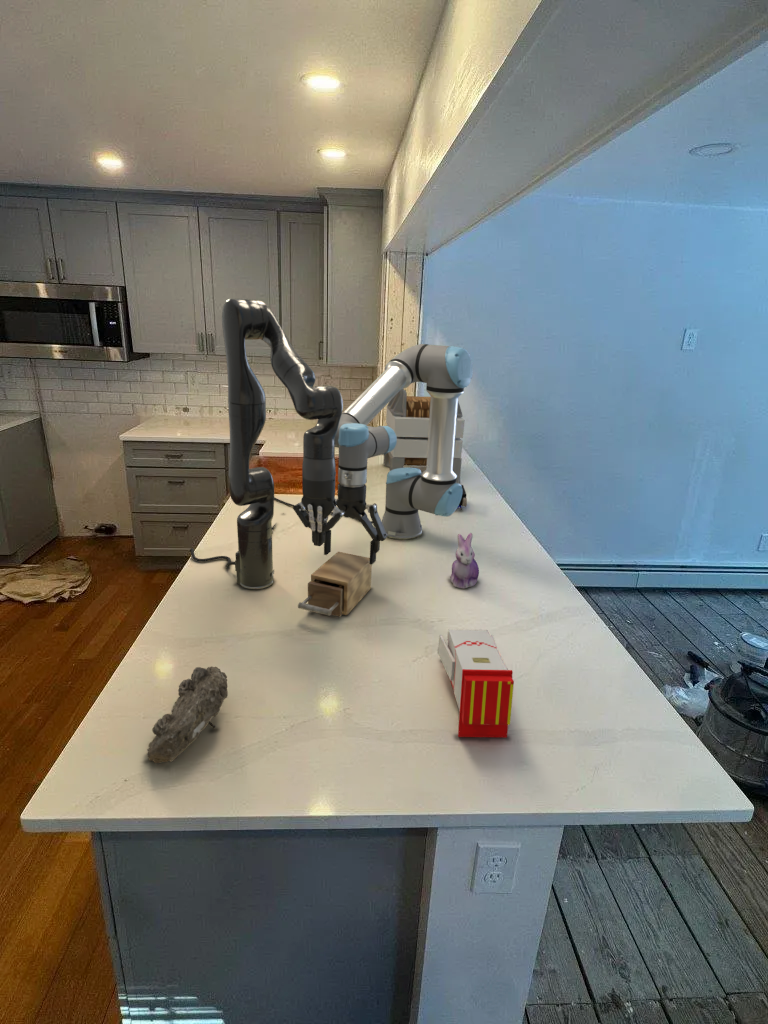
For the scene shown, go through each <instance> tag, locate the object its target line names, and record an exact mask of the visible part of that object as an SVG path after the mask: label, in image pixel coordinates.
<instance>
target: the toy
mask: <svg viewBox="0 0 768 1024" xmlns="http://www.w3.org/2000/svg"><path fill="white" fill-rule="evenodd" d="M446 640H447V643H446V641H445V639H444V636H443V635H442V634H439V637H438V646H437V656H438V657H439V659H440V661H441V663H442V666H443V668H444V670H445V672H446V674H447V677H448V679H449V681H450V684H451V687H452V690H453V693H454V697H455V701H456V705H457V708H458V711H459V714H458V715H459V716H458V730H457V731H458V732H457V737H458V738H508V731H509V726H510V725H511V717H512V707H513V697H514V696H513V695H514V684H515V680H514V679H513V673H514V671H513V670H512V669H508V667H507V665H506V662H505V661H504V659H503V658H502V655H501V653H500V651H499V649H498V647H497V643H496V639H495V637H494V635H493V634H491V632H490V631H489V629H467V628H466V629H465V628H463V629H461V628H460V629H459V628H448V630H447V639H446Z"/></svg>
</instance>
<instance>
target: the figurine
mask: <svg viewBox="0 0 768 1024" xmlns="http://www.w3.org/2000/svg"><path fill="white" fill-rule="evenodd" d="M473 538H474V537H473V533H472V532H470V533H468V534H467V537H466V538H465V539H464V537H463V536H462V534H461V533H458V534H457V549H456V551H455V558H456V560H454V561H453V562H452V565H451V574H450V582H451V583H452V585H453V586H454V587H455V588H460V589H467V588H471V587H474V586H475V585H476V584H477V583H478V579H479V577H480V569H479V564H478V562H477V560H476V558H475V557H476V553H475V551H474V548H473V546H472V542H473Z"/></svg>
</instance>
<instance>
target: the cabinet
mask: <svg viewBox="0 0 768 1024" xmlns="http://www.w3.org/2000/svg"><path fill="white" fill-rule="evenodd" d="M372 566H373V564H372V565H371V564H370V557H367V556H363V555H357V554H354V553H353V554H352V553H348V552H342V551H337V552H336V553H335V554H333V555H332V556H331V557H329V559H327V561H325V562H324V563H323V564H322V565H320V566H319V567H318V568H317V569H316V570H314V572H313V573H311V574H310V581H311V582H315V583H316V580H322V581H326V582H331V583H335V584H340V585H344V607H343V608H342V615H343V616H348V615H349V614H350V613H351V611H352V610H353V609H354V608H356V606H357V605H358V604H359V603H360V601H362V600H363V598H365V596H366V595H367V594H368V593H369V592H370V590H371V589H372V568H373V567H372Z"/></svg>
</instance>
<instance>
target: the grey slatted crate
mask: <svg viewBox="0 0 768 1024" xmlns="http://www.w3.org/2000/svg"><path fill="white" fill-rule="evenodd" d="M407 394H408V393H407V390H406V389H405V388H403V389H401V390H400V391H399V392H398V393H397V394H396V395H395V396H394V397H393V398H392V399H391V401H390V402H389V403H388V404H387V405H386V413H385V414H386V415H385V423H386V426H388V427H390V428H392V429H393V431H394V432H395V434H396V437H397V443H396V446H395V448H394V449H393V450H392V451H391V452H388V453H386V454H384V455H383V466H384V467H388V468H389V471H391V470H394V469H398V468H405V466H406V467H407V466H411V467H412V466H413V467H415V466H416V467H417V466H418V467H426V465H427V449H428V432H429V416H430V400H431V396H415V395H414V396H413V395H412V396H411V395H407ZM464 429H465V419H464V418H463V411H462V408H461V405H460V402H459V401H458V407H457V420H456V432H455V445H454V458H453V472H454V473H455V474H456V475H457V479H456V483H459V484H460V483H461V472H462V461H463V460H462V453H463V442H464V441H463V440H462V439H463V438H464V431H465V430H464Z"/></svg>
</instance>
